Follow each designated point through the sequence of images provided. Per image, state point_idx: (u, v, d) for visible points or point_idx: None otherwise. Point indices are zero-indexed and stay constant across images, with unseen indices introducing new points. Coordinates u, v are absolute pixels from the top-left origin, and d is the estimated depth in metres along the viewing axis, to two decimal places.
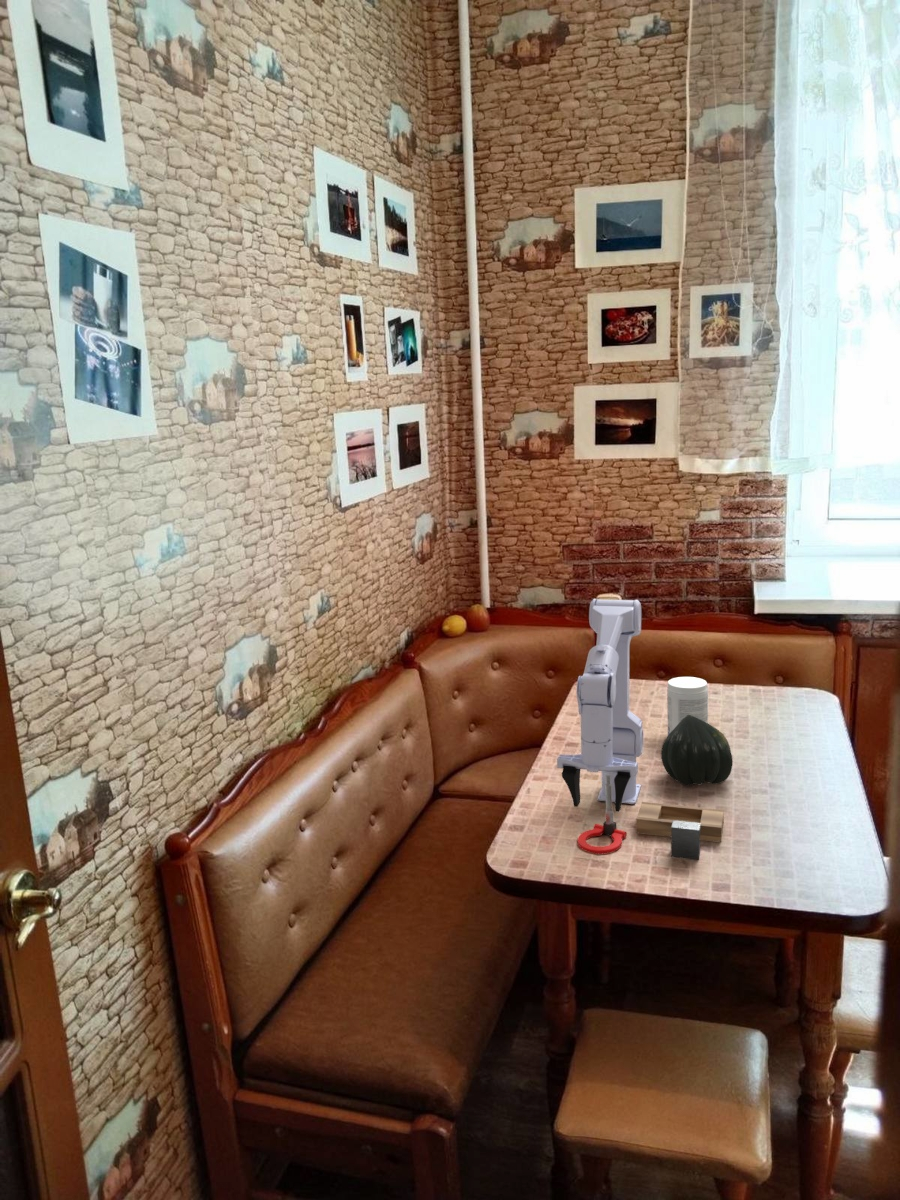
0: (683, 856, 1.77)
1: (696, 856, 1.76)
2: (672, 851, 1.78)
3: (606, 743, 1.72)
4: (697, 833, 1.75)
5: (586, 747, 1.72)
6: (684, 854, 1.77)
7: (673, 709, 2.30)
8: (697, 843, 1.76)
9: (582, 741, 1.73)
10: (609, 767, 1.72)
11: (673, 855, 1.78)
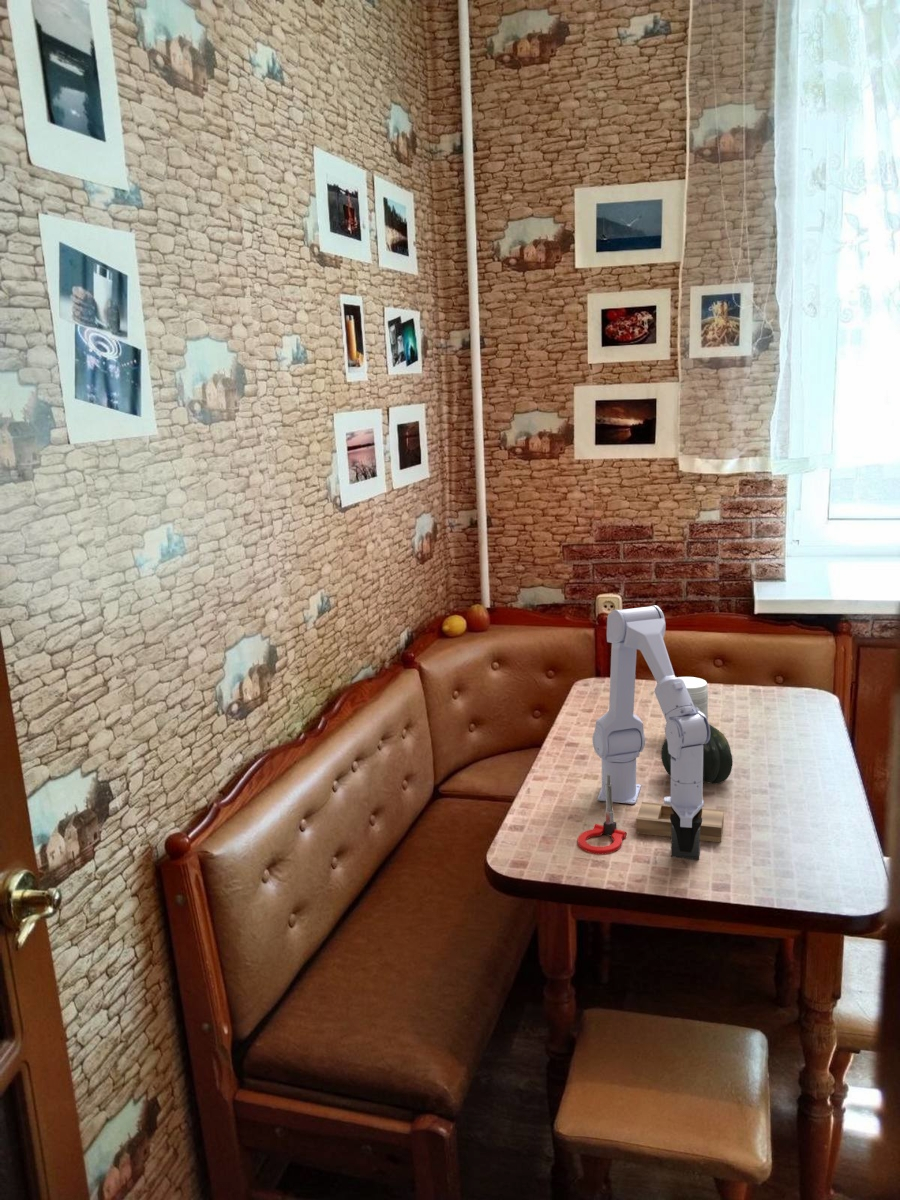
0: (683, 856, 1.77)
1: (696, 856, 1.76)
2: (672, 851, 1.78)
3: (676, 783, 1.74)
4: (697, 833, 1.75)
5: None
6: (684, 854, 1.77)
7: None
8: (697, 843, 1.76)
9: None
10: (673, 806, 1.74)
11: (673, 855, 1.78)
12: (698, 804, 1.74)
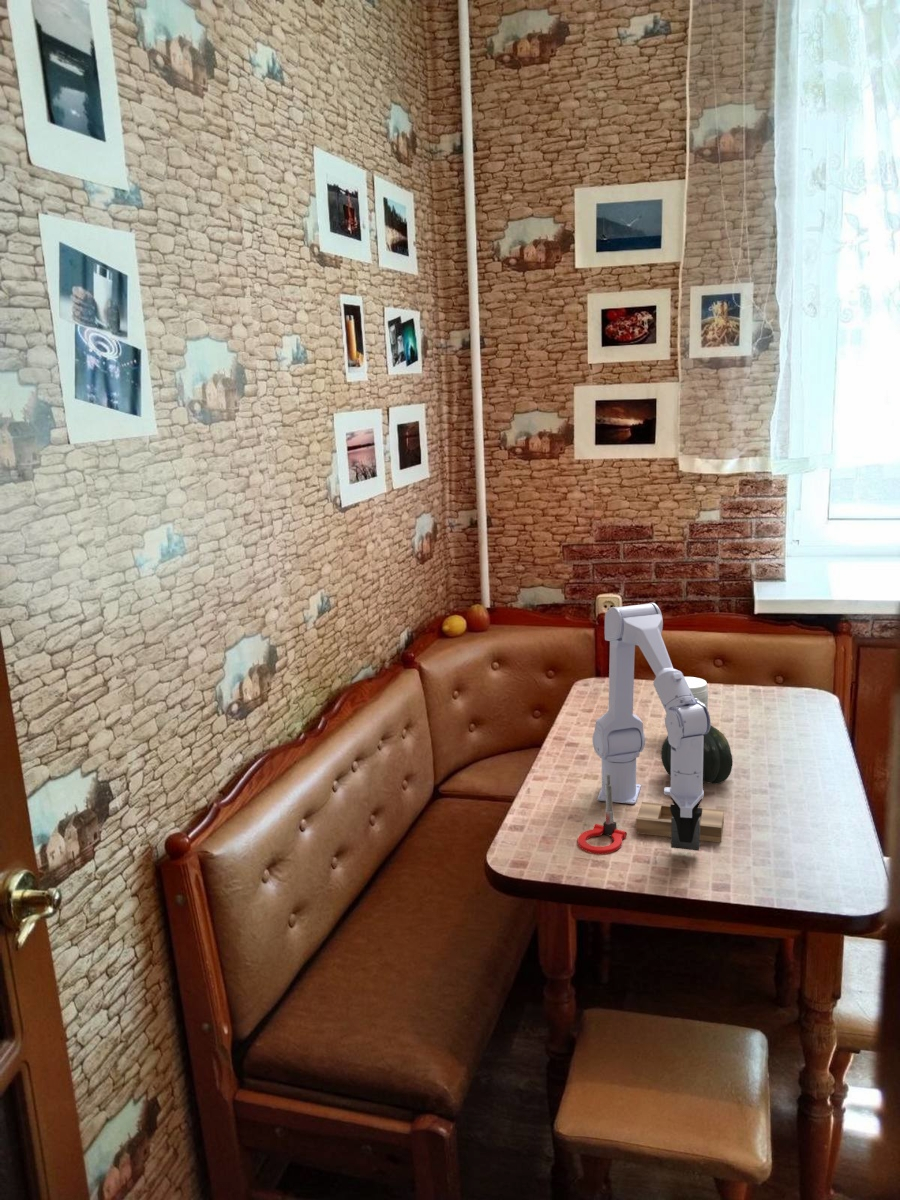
0: (683, 846, 1.77)
1: (696, 846, 1.76)
2: (672, 842, 1.77)
3: (676, 773, 1.73)
4: (697, 824, 1.75)
5: None
6: (684, 844, 1.77)
7: None
8: (697, 833, 1.75)
9: None
10: (673, 797, 1.74)
11: (673, 846, 1.77)
12: (698, 794, 1.74)
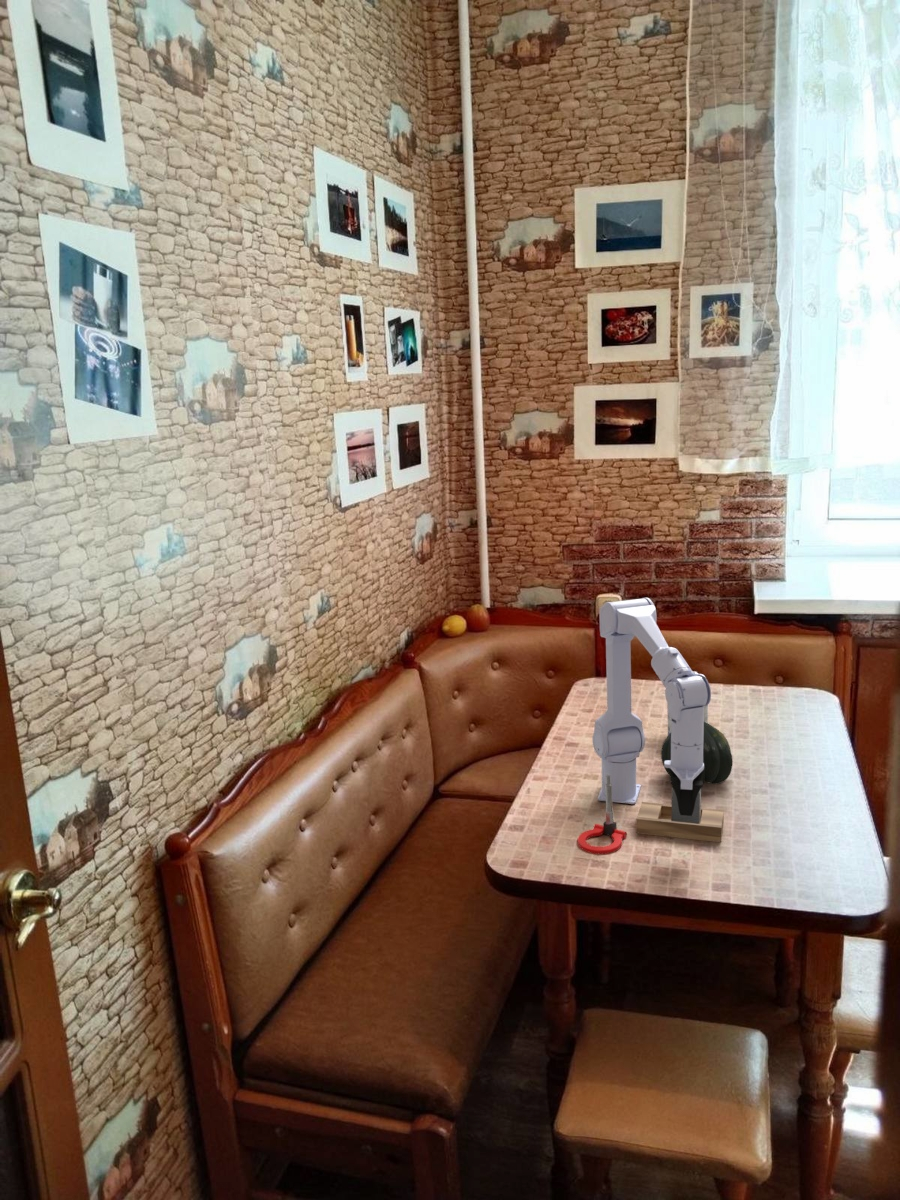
0: (683, 820, 1.76)
1: (697, 820, 1.75)
2: (672, 815, 1.76)
3: (676, 745, 1.72)
4: (697, 797, 1.74)
5: None
6: (684, 818, 1.76)
7: None
8: (698, 806, 1.74)
9: None
10: (674, 769, 1.73)
11: (673, 819, 1.76)
12: (699, 767, 1.72)
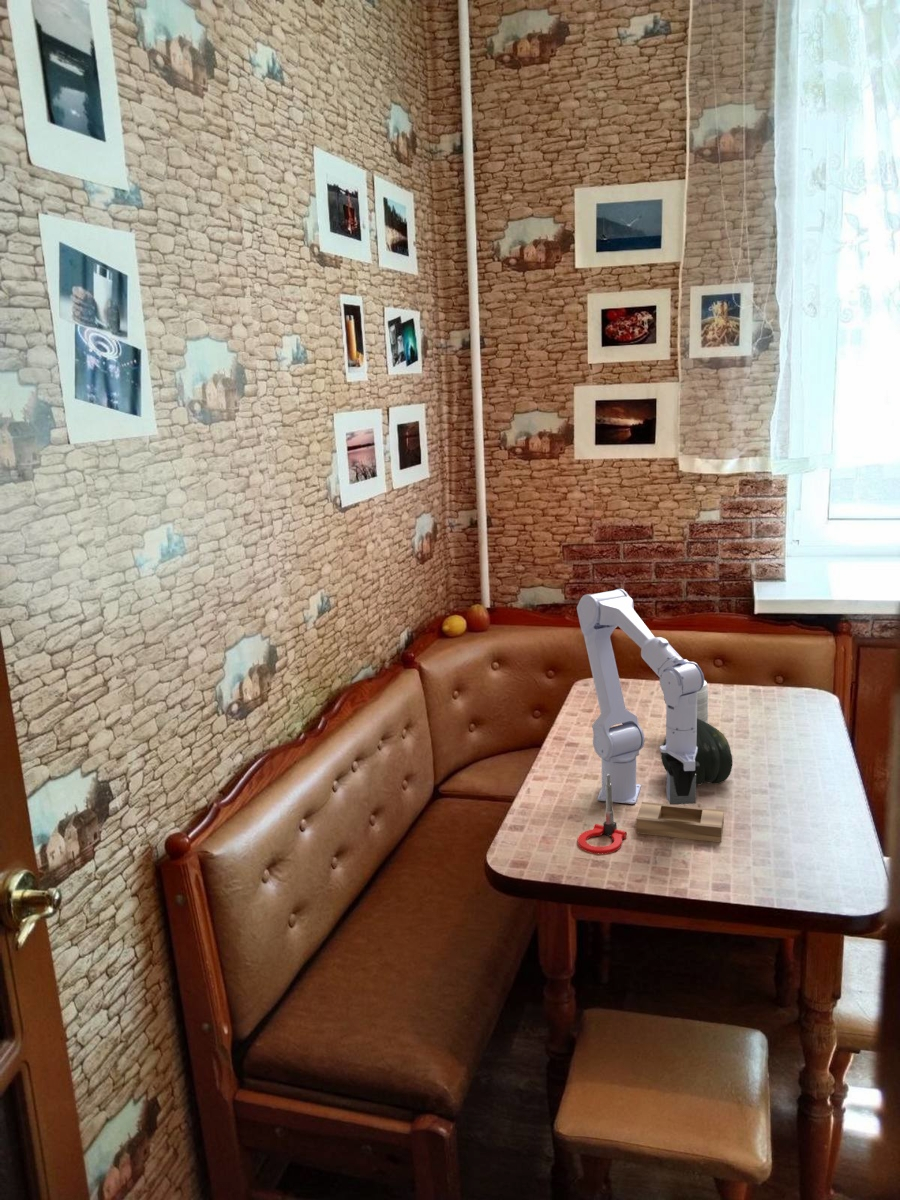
0: (681, 802, 1.86)
1: (693, 800, 1.86)
2: (671, 799, 1.86)
3: (674, 730, 1.82)
4: (694, 778, 1.85)
5: None
6: (682, 800, 1.86)
7: None
8: (694, 787, 1.85)
9: None
10: (672, 753, 1.83)
11: (672, 802, 1.86)
12: (694, 749, 1.83)
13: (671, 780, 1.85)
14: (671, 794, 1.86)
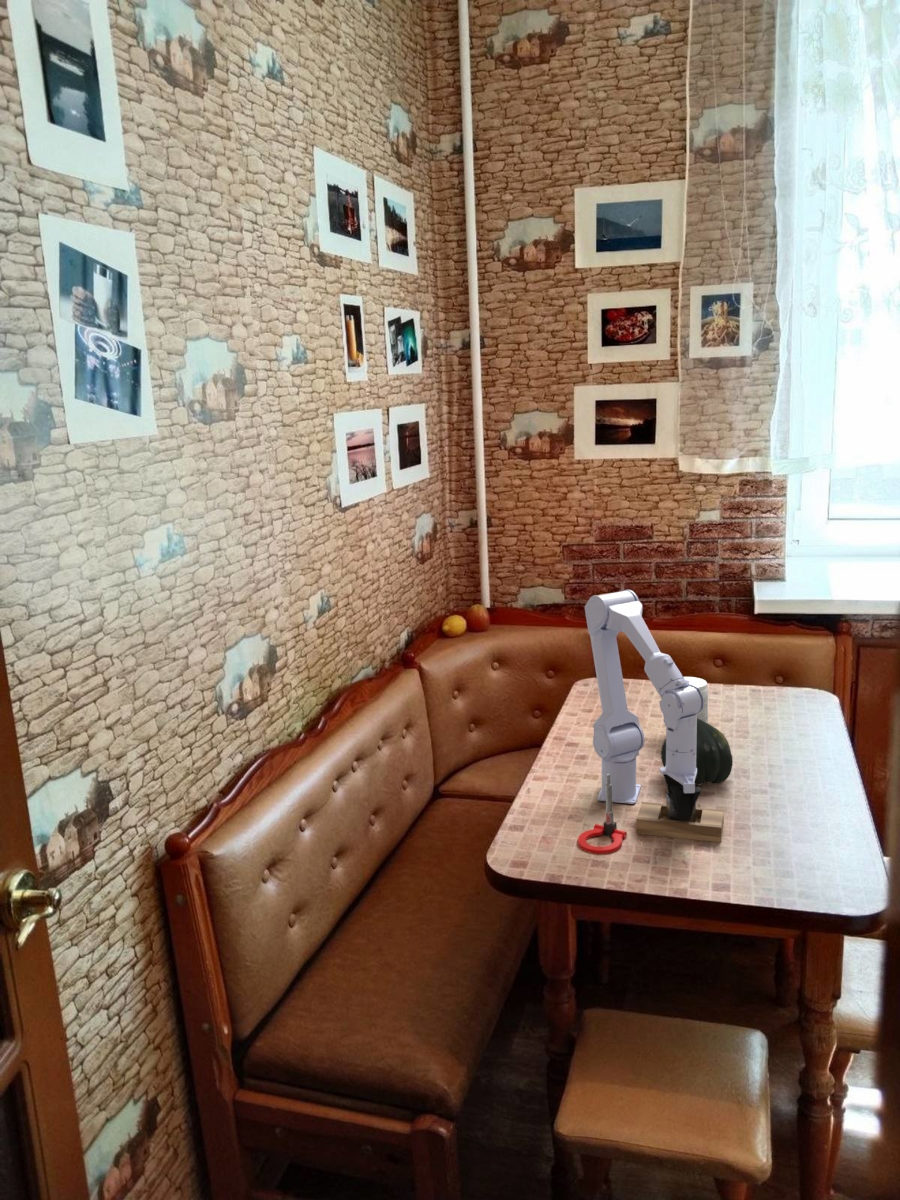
0: None
1: None
2: None
3: (674, 752, 1.83)
4: None
5: None
6: None
7: None
8: (694, 810, 1.87)
9: None
10: (672, 775, 1.84)
11: None
12: (694, 771, 1.84)
13: (671, 803, 1.86)
14: (671, 817, 1.87)
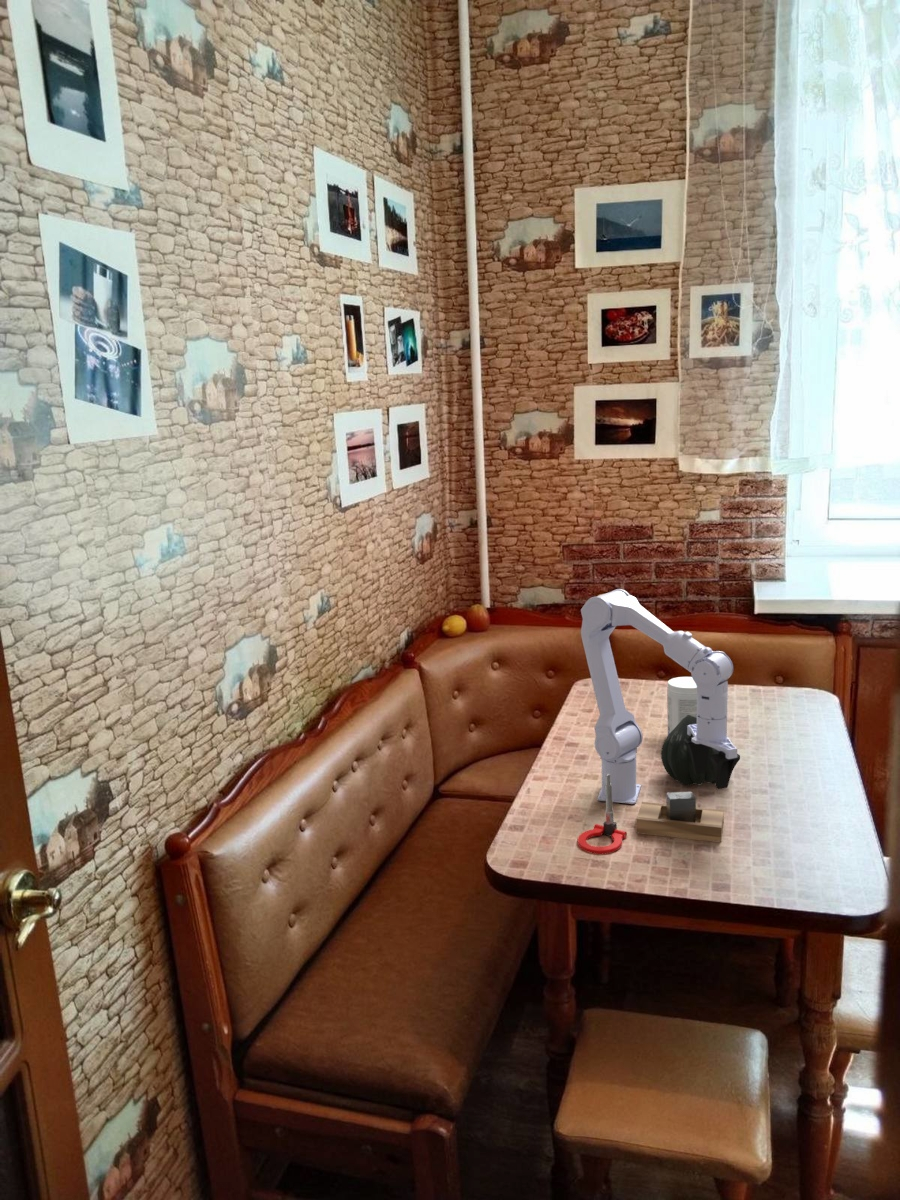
0: None
1: None
2: None
3: (709, 720, 1.83)
4: (693, 801, 1.86)
5: None
6: None
7: (673, 709, 2.30)
8: (694, 810, 1.87)
9: None
10: (709, 743, 1.84)
11: None
12: (726, 737, 1.86)
13: (671, 803, 1.86)
14: (671, 817, 1.87)
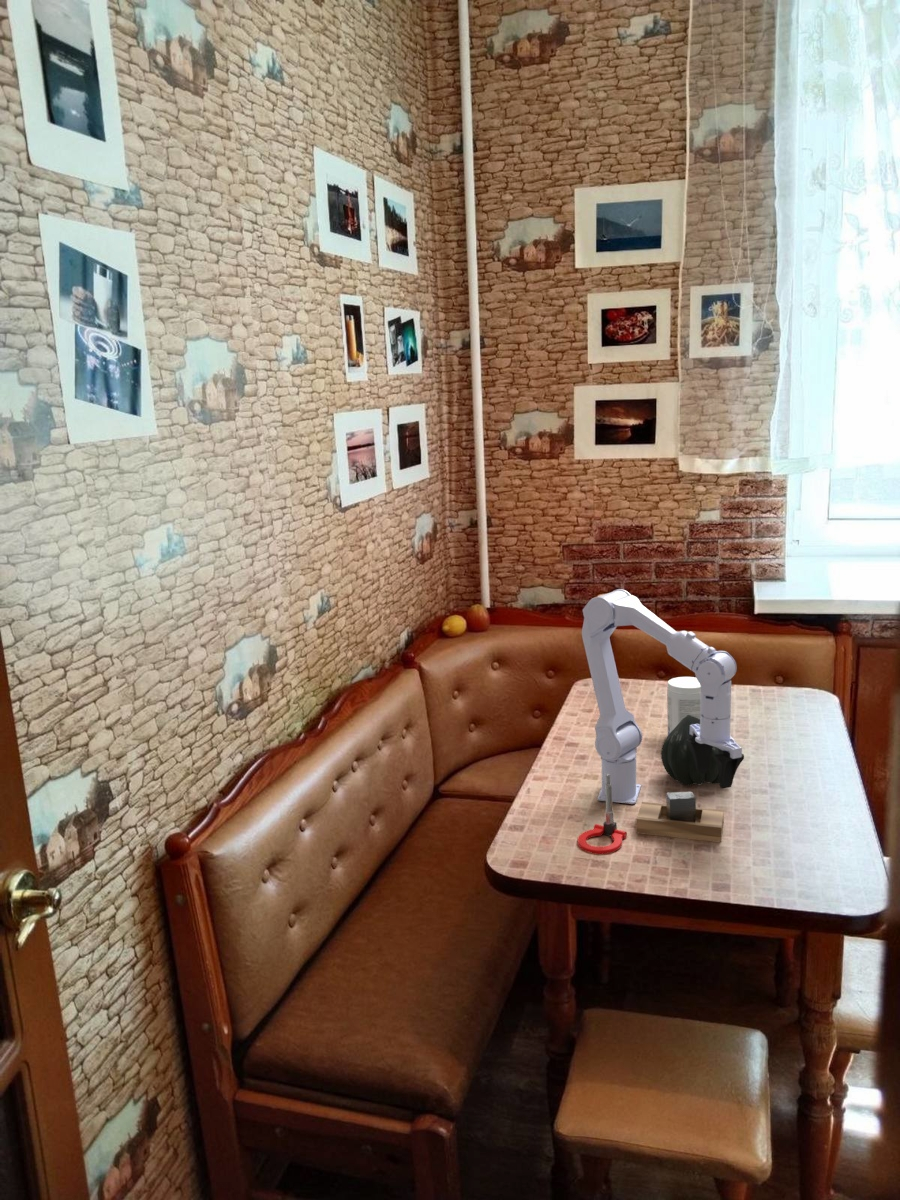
0: None
1: None
2: None
3: (713, 720, 1.84)
4: (693, 801, 1.86)
5: (700, 719, 1.87)
6: None
7: (673, 709, 2.30)
8: (694, 810, 1.87)
9: None
10: (713, 743, 1.84)
11: None
12: (730, 736, 1.86)
13: (671, 803, 1.86)
14: (671, 817, 1.87)
